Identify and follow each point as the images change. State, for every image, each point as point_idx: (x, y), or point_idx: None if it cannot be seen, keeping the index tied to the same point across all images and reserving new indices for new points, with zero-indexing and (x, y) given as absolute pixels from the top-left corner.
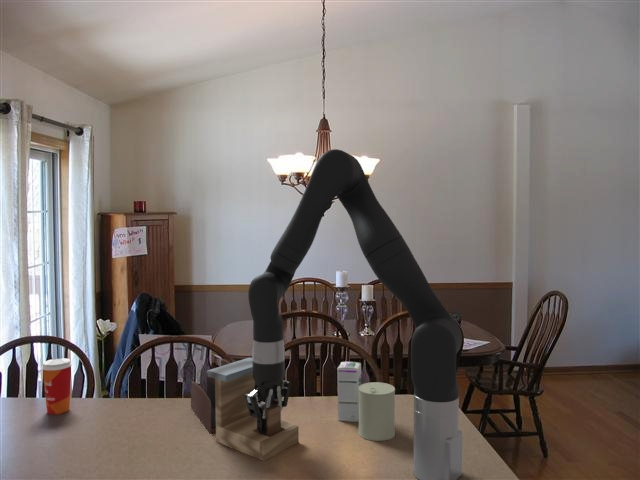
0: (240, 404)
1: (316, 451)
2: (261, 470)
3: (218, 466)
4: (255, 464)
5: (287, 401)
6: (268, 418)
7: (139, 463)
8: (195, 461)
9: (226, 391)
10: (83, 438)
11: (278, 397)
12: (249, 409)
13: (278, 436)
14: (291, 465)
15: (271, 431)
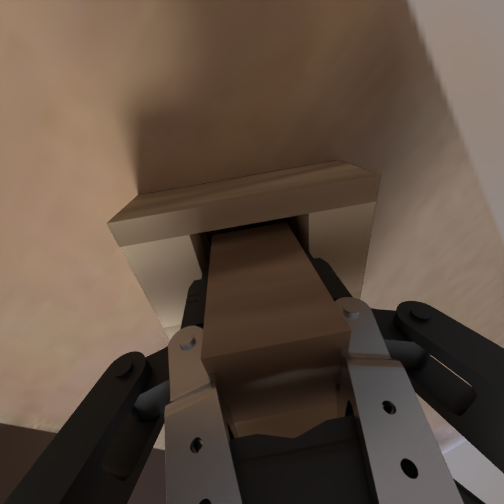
0: (280, 435)
1: (101, 45)
2: (404, 97)
3: (436, 228)
4: (375, 159)
5: (92, 392)
6: (323, 288)
7: (481, 332)
8: (434, 283)
9: None
10: (432, 418)
11: (219, 466)
12: (470, 387)
13: (268, 194)
14: (298, 18)
15: (279, 241)
